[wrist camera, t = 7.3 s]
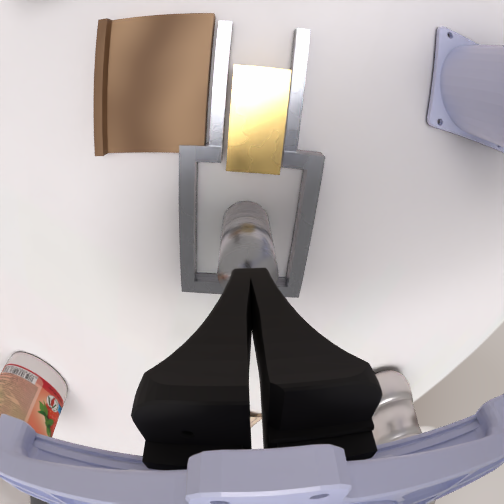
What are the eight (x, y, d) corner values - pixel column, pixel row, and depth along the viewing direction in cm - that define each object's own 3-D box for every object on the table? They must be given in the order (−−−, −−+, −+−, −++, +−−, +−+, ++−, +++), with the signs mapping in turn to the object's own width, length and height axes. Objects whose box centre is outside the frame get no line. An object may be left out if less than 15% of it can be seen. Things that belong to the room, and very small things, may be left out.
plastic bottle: (407, 378, 33) (457, 515, 16) (360, 402, 35) (395, 540, 18) (395, 354, 30) (455, 516, 13) (342, 381, 32) (380, 545, 15)
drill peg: (270, 202, 21) (282, 250, 16) (265, 243, 23) (274, 299, 17) (224, 199, 21) (218, 246, 16) (222, 240, 23) (216, 296, 17)
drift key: (284, 72, 17) (291, 70, 14) (274, 162, 20) (279, 175, 17) (235, 67, 16) (233, 64, 14) (228, 159, 19) (226, 171, 17)
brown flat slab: (215, 16, 15) (213, 10, 13) (205, 150, 19) (202, 156, 18) (109, 24, 14) (98, 19, 13) (105, 149, 19) (95, 156, 17)
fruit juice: (22, 340, 28) (-55, 538, 4) (80, 386, 32) (32, 580, 8) (4, 362, 31) (-58, 522, 7) (53, 400, 35) (10, 559, 11)
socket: (334, 37, 16) (340, 35, 15) (296, 288, 25) (298, 297, 24) (190, 23, 15) (187, 20, 14) (184, 282, 24) (181, 291, 23)
